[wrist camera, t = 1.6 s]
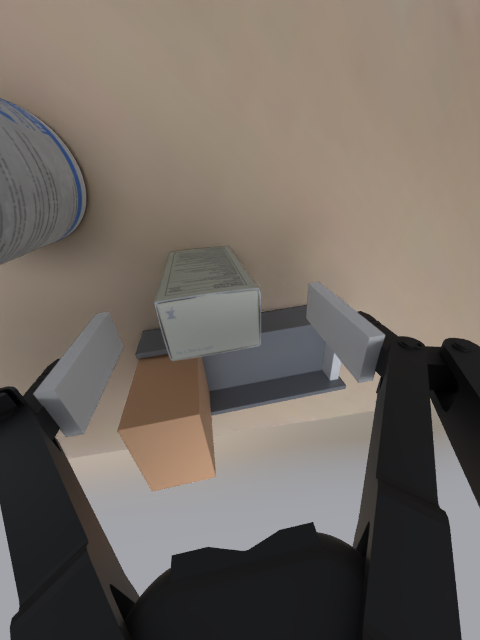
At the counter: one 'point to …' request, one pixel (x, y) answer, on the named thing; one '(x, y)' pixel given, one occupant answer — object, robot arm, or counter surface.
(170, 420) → the block
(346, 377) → the counter surface
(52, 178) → the supplement tub
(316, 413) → the counter surface
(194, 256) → the skincare box
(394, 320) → the counter surface
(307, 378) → the tray
